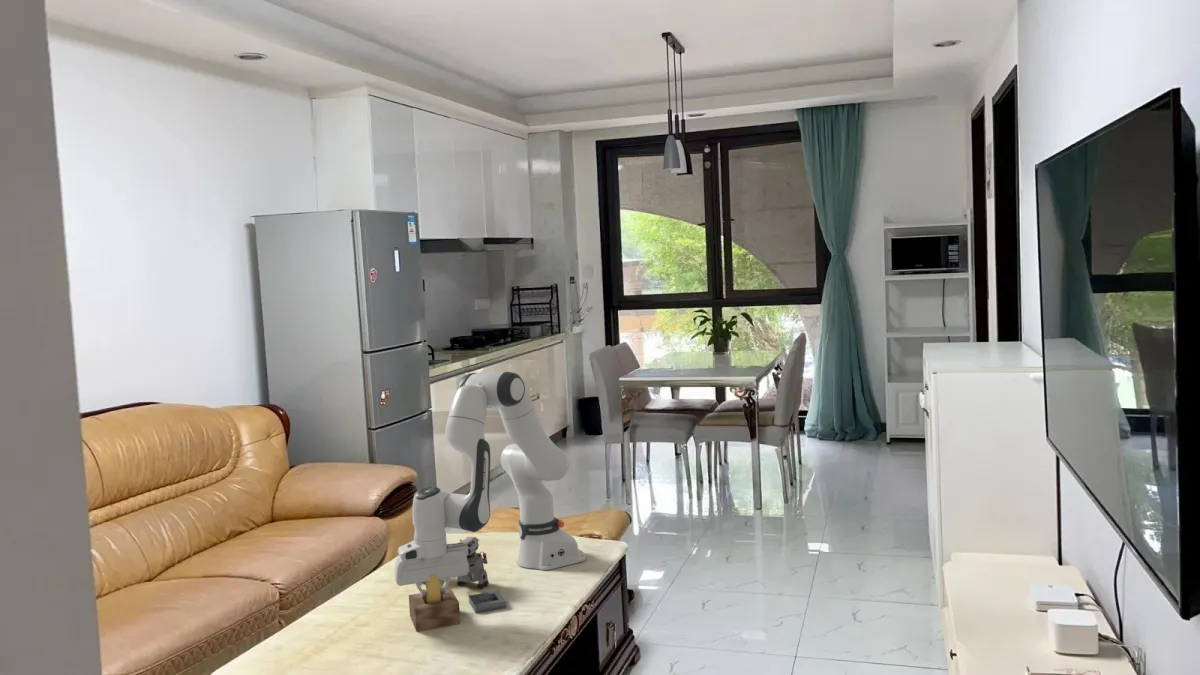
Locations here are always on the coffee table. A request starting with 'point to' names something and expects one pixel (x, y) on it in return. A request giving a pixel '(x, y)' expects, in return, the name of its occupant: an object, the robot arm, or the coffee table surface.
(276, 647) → the coffee table surface
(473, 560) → the figurine
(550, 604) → the coffee table surface
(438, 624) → the socket
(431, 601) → the pin
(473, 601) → the collar
